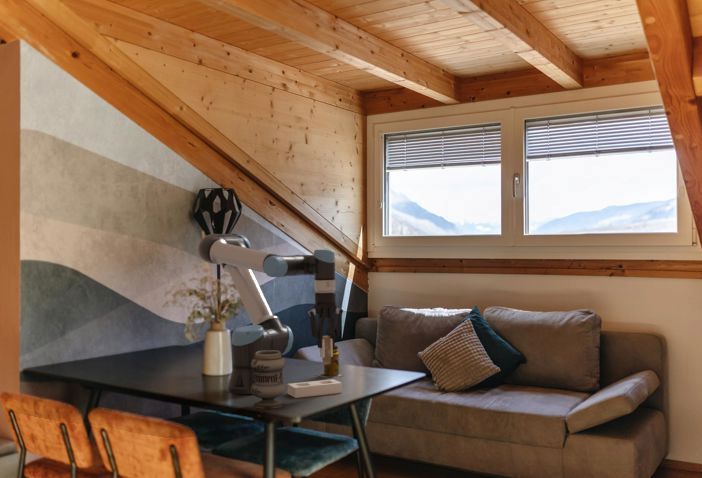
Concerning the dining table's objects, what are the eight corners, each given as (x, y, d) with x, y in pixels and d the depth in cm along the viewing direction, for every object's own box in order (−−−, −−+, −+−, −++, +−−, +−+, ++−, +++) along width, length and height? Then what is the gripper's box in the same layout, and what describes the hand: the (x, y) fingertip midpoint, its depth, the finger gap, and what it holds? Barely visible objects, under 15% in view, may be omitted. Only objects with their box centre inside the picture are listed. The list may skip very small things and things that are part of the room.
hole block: (295, 397, 250) (295, 387, 250) (287, 393, 258) (287, 383, 258) (342, 392, 258) (342, 383, 258) (333, 388, 265) (333, 379, 265)
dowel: (324, 364, 258) (323, 337, 258) (321, 363, 260) (320, 336, 260) (332, 364, 259) (331, 336, 259) (328, 362, 262) (328, 335, 262)
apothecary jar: (250, 410, 232) (250, 355, 232) (250, 402, 244) (249, 349, 244) (287, 408, 234) (287, 353, 234) (285, 400, 246) (284, 348, 246)
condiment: (343, 375, 291) (342, 346, 291) (325, 378, 286) (325, 348, 286) (333, 373, 297) (333, 344, 297) (316, 375, 292) (315, 346, 292)
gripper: (308, 293, 253) (310, 359, 253) (348, 291, 260) (350, 356, 259) (301, 292, 260) (302, 356, 260) (340, 290, 266) (341, 353, 266)
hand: (326, 356), depth 260 cm, fingers closed on dowel, 2 cm apart
